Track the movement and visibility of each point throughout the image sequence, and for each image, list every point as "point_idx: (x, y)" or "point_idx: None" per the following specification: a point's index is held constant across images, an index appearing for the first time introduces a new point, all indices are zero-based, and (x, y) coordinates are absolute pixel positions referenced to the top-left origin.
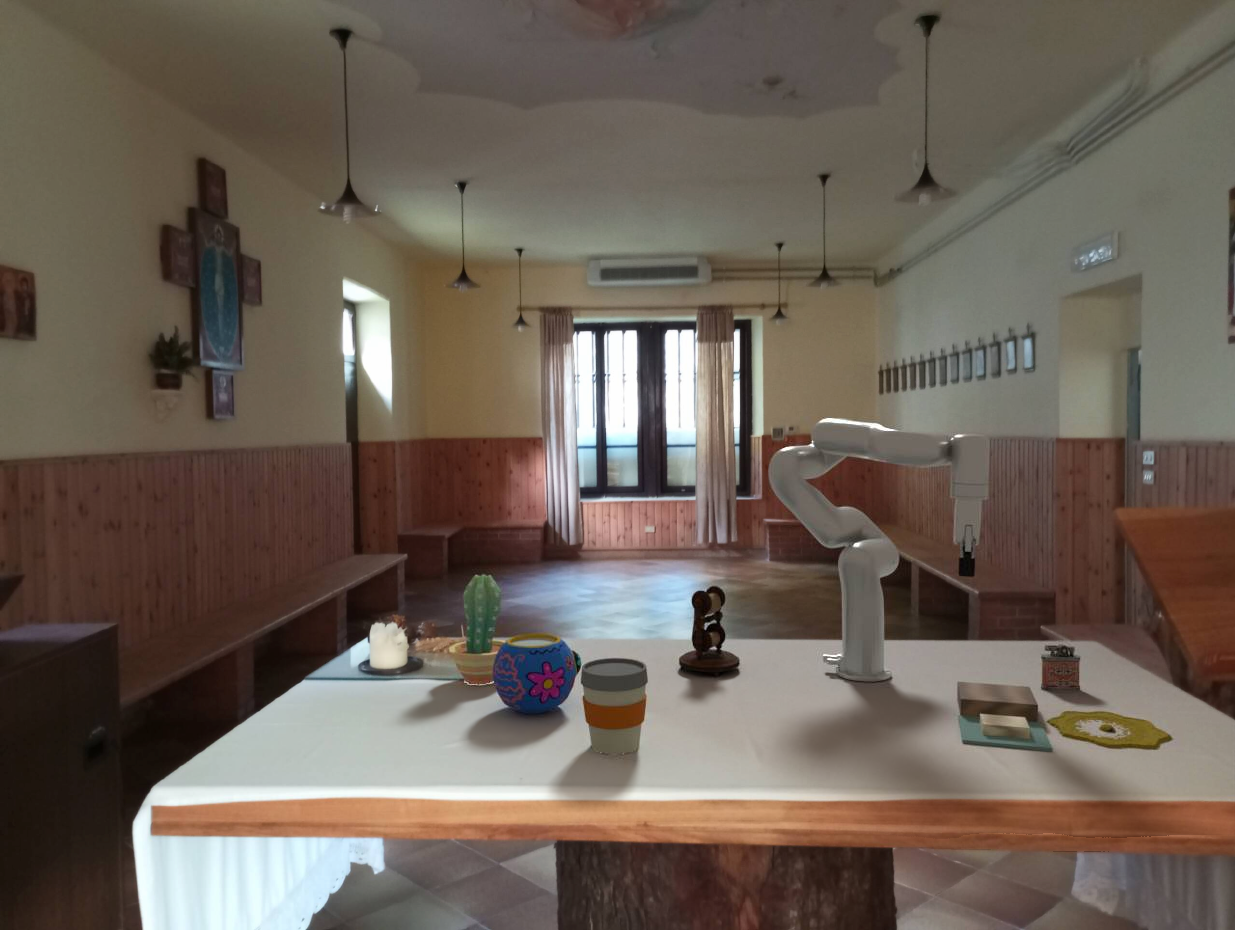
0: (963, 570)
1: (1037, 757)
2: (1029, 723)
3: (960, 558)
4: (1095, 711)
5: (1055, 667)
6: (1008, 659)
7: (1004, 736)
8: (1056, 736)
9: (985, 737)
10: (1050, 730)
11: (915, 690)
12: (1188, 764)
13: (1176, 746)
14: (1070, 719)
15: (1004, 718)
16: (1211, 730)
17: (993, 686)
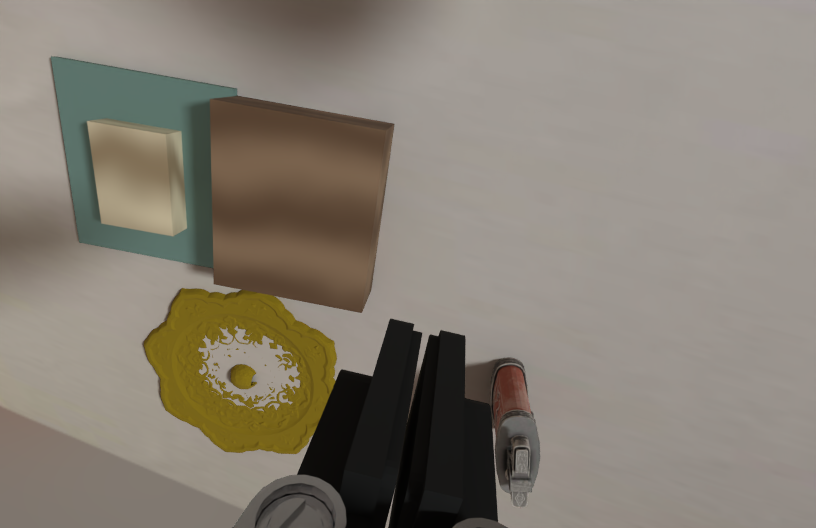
0: (337, 381)
1: (39, 200)
2: None
3: (344, 474)
4: None
5: (497, 419)
6: (802, 371)
7: None
8: (176, 276)
9: (89, 119)
10: (210, 277)
11: (482, 5)
12: (111, 419)
13: (189, 438)
14: (284, 336)
15: (148, 186)
16: None
17: (349, 224)
